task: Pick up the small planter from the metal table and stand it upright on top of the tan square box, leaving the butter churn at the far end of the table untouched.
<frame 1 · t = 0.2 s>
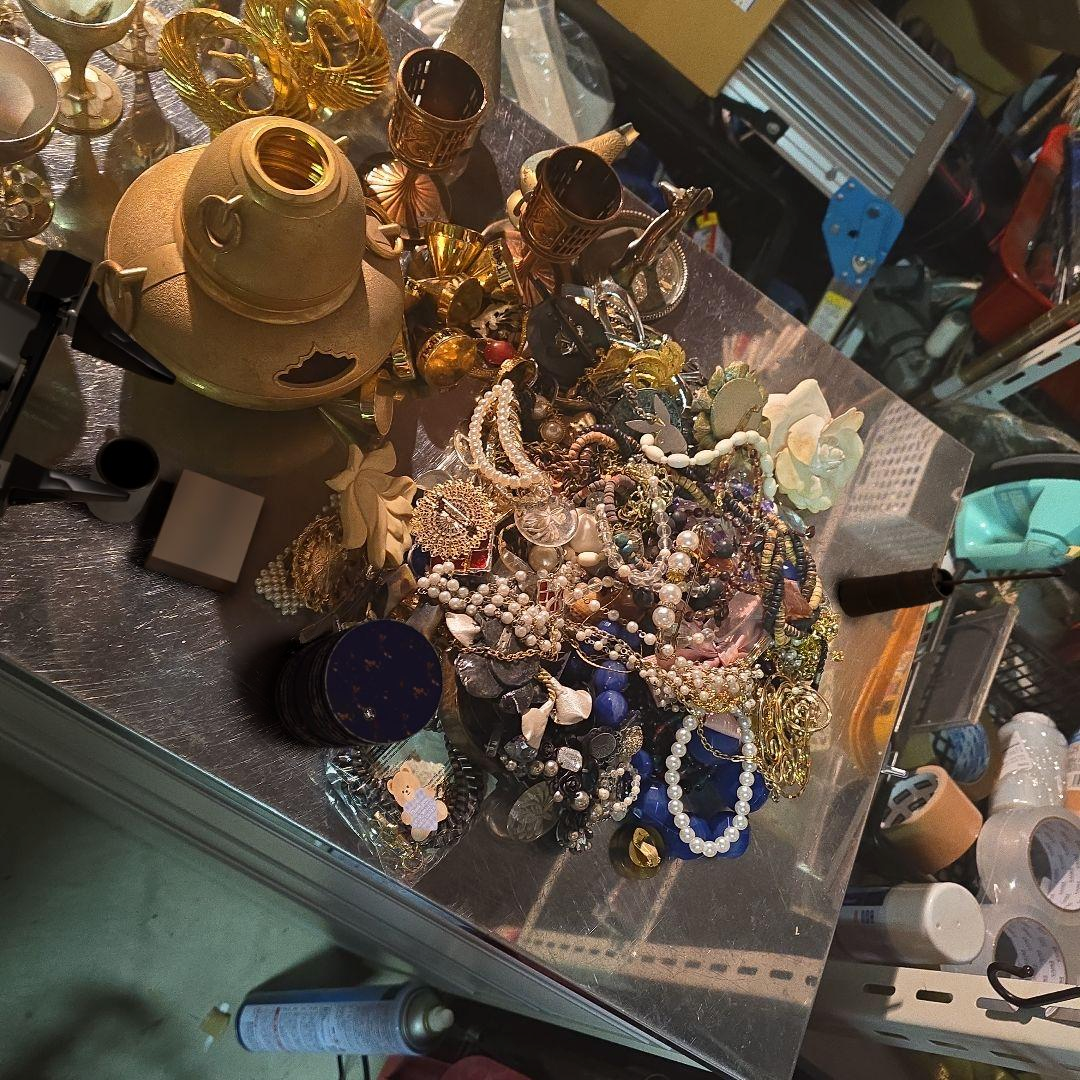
hand: (152, 438, 62), 18 cm above the table, tool horizontal, fingers open, 9 cm apart
storage jar: (328, 694, 82), on the table
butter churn: (845, 593, 119), on the table
planter: (114, 498, 76), on the table
tan square box: (199, 538, 79), on the table
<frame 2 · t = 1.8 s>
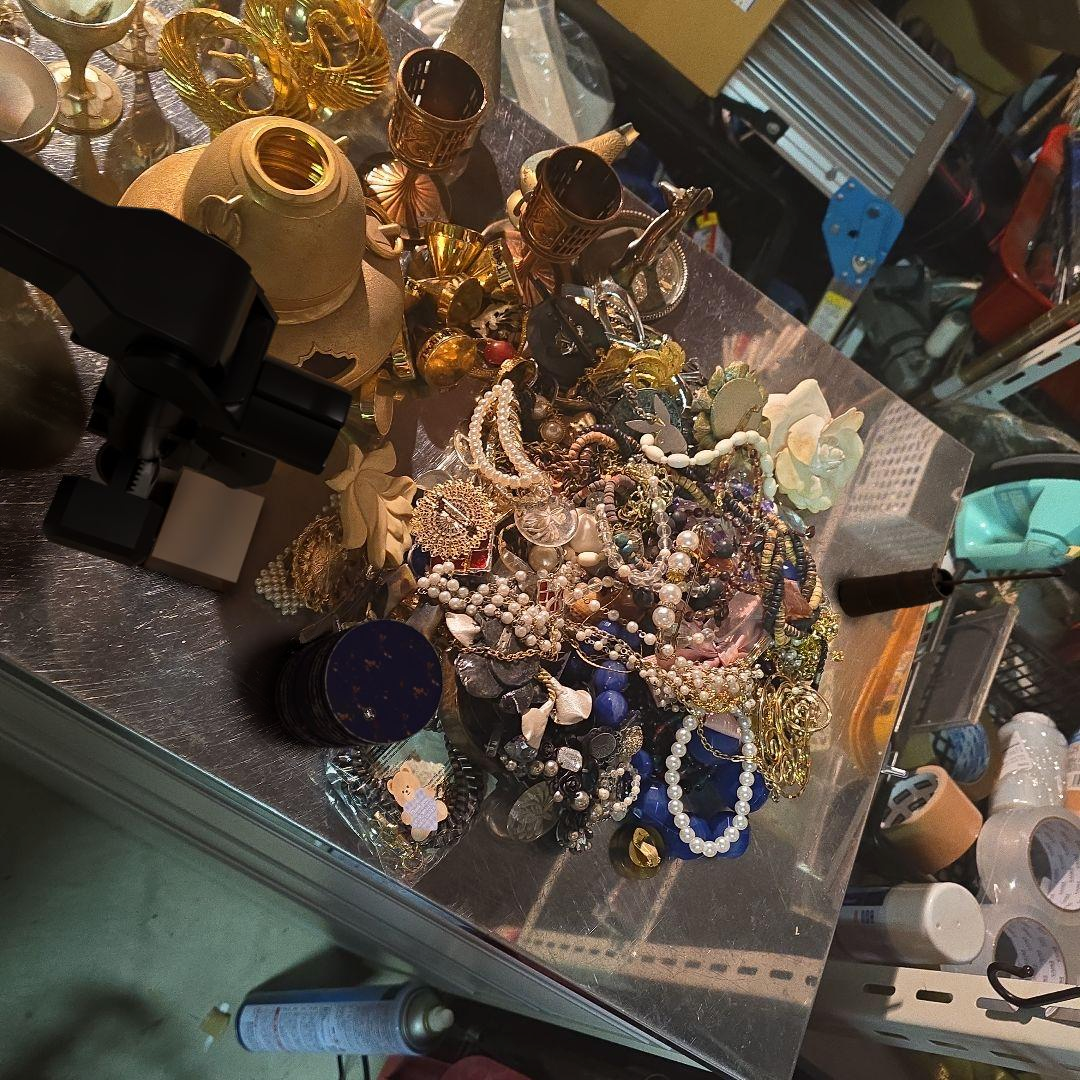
hand: (128, 458, 66), 12 cm above the table, tool pointing down, fingers open, 9 cm apart
nothing on the table moved.
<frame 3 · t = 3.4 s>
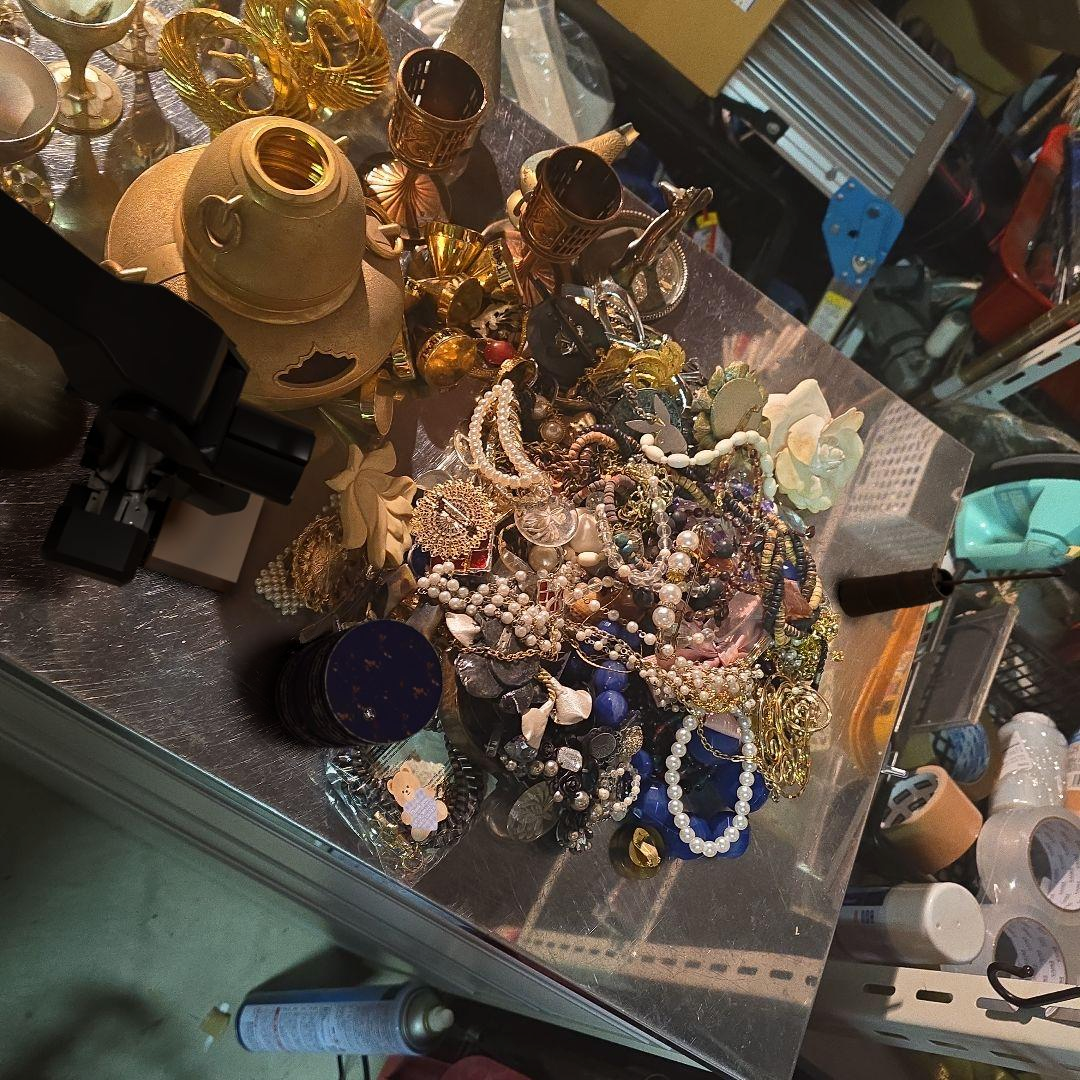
hand: (119, 485, 73), 4 cm above the table, tool pointing down, fingers closed on planter, 4 cm apart
planter: (114, 498, 76), on the table, touching gripper
everything else where it was.
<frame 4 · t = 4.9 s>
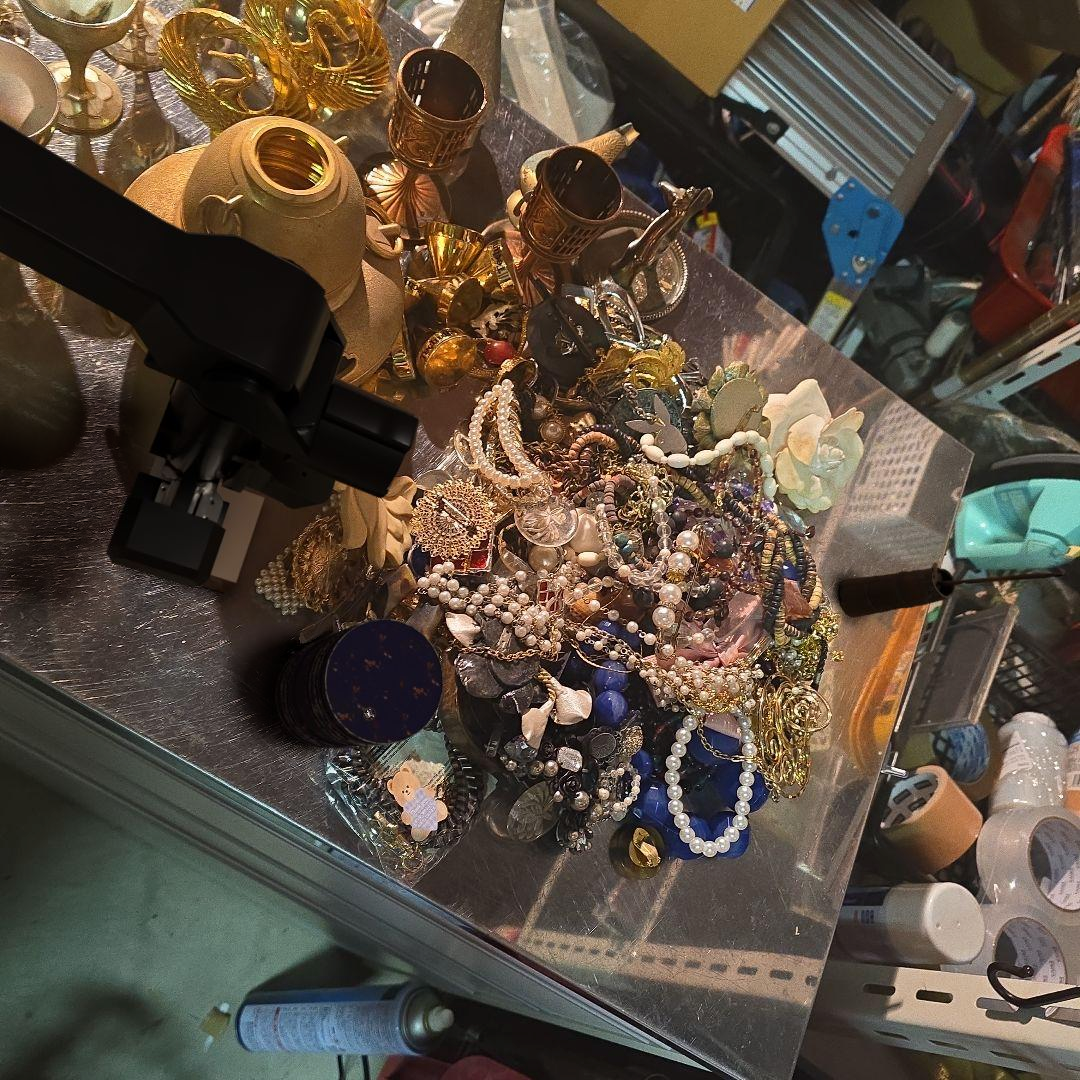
hand: (184, 476, 66), 13 cm above the table, tool pointing down, fingers closed on planter, 4 cm apart
planter: (176, 491, 70), point 9 cm above the table, touching gripper
everything else where it was.
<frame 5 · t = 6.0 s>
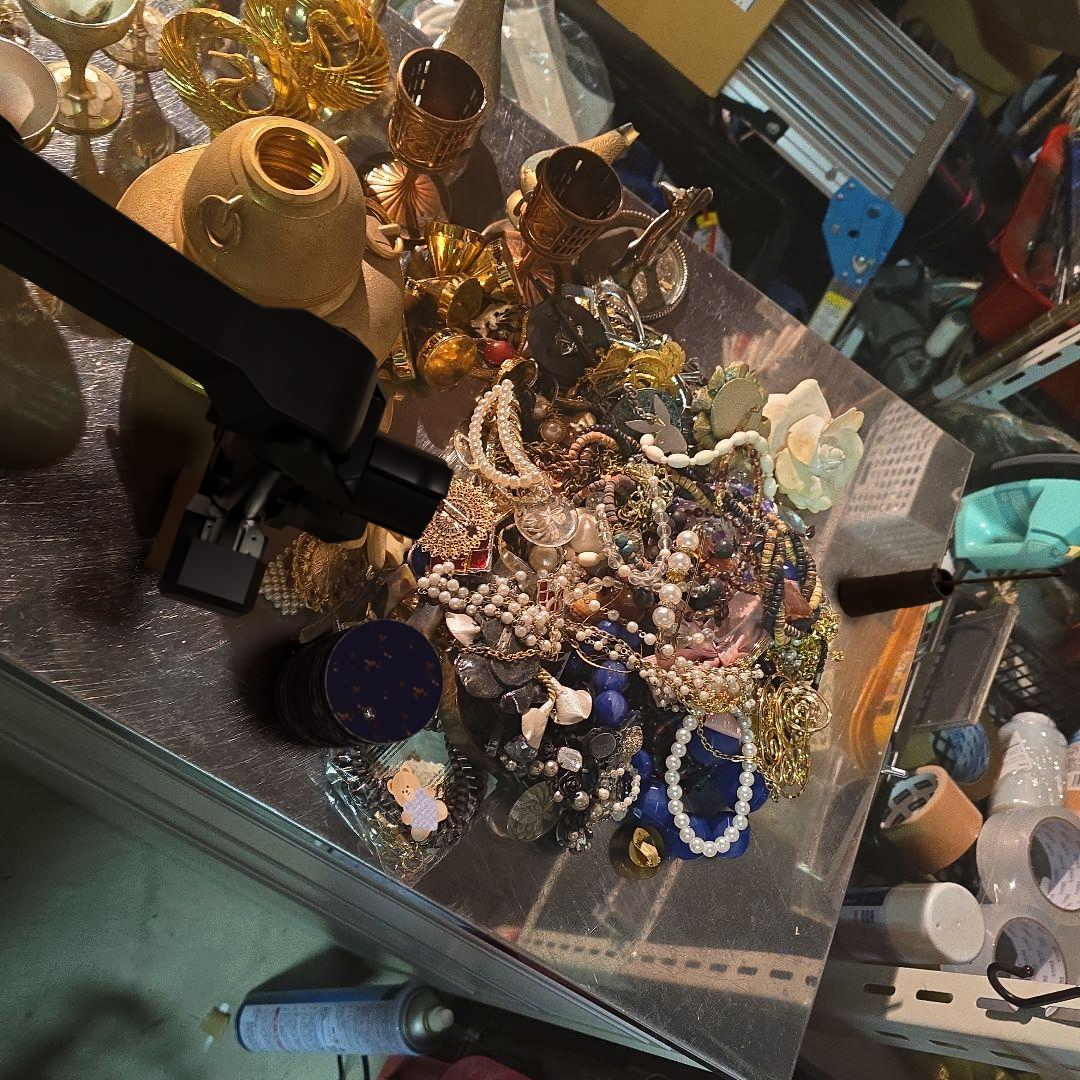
hand: (221, 509, 70), 10 cm above the table, tool pointing down, fingers closed on planter, 4 cm apart
planter: (211, 522, 74), point 6 cm above the table, touching gripper
everything else where it was.
when the fingers open (9 cm above the table, at t = 6.7 s): planter stays where it is, resting on tan square box.
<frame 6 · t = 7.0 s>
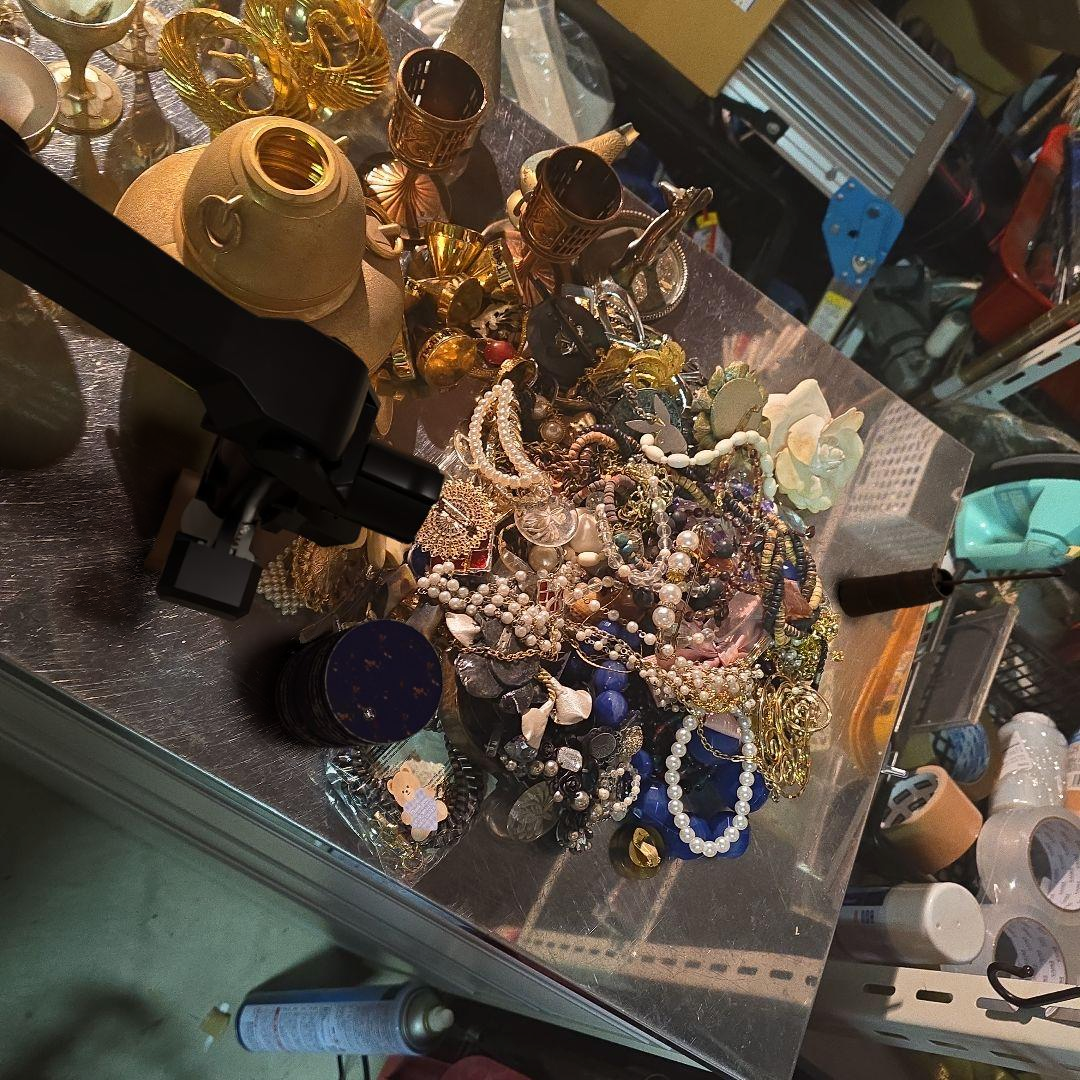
hand: (219, 514, 71), 9 cm above the table, tool pointing down, fingers open, 7 cm apart
planter: (208, 525, 75), point 5 cm above the table, touching tan square box
everything else where it was.
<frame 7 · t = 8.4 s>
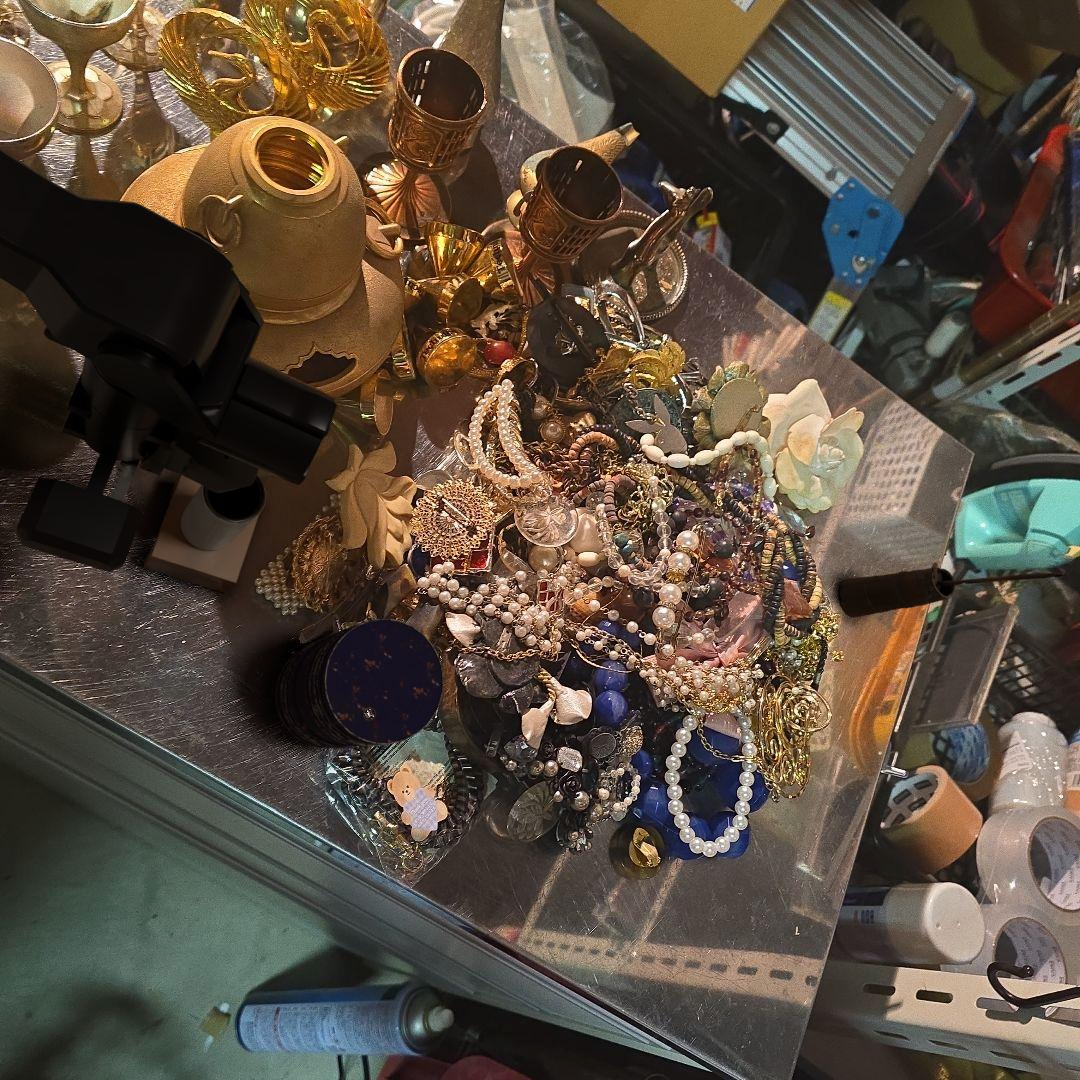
hand: (108, 459, 64), 13 cm above the table, tool pointing down, fingers open, 9 cm apart
nothing on the table moved.
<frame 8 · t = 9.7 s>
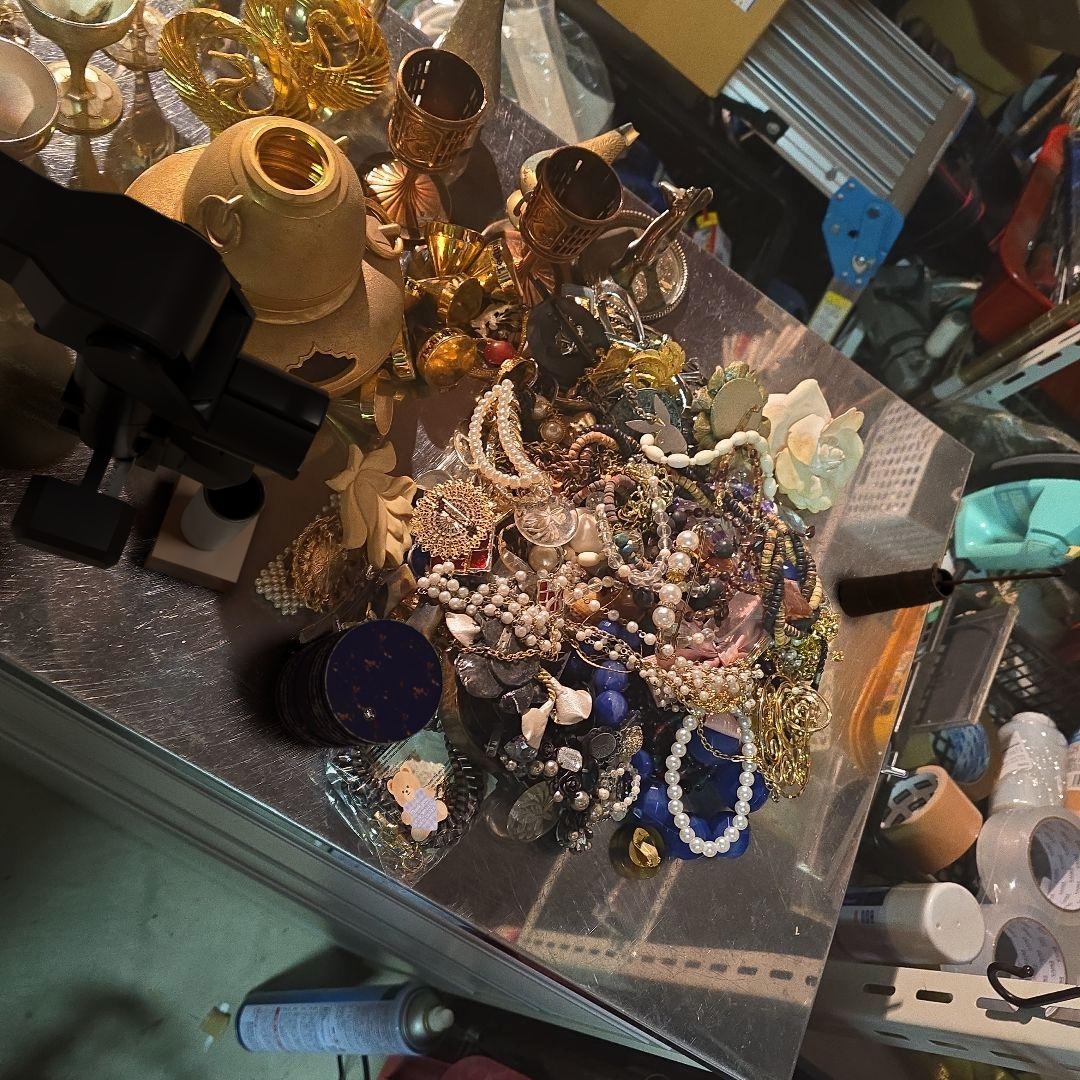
hand: (106, 457, 64), 13 cm above the table, tool pointing down, fingers open, 9 cm apart
nothing on the table moved.
at the end: planter 0.1 cm off-centre on the tan square box, point 4.8 cm above the tan square box's base; planter tilted 0°; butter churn moved 0.2 cm from its start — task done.
